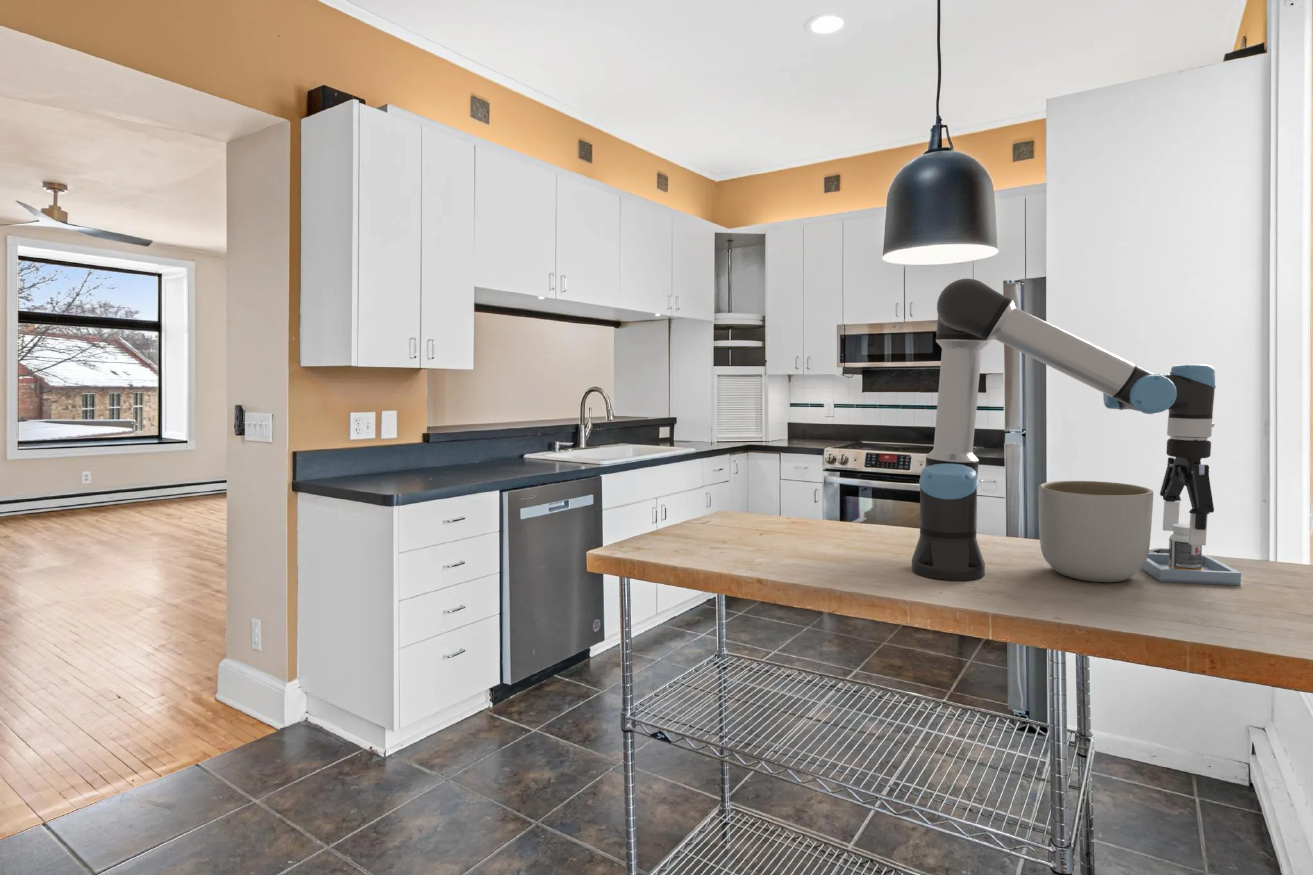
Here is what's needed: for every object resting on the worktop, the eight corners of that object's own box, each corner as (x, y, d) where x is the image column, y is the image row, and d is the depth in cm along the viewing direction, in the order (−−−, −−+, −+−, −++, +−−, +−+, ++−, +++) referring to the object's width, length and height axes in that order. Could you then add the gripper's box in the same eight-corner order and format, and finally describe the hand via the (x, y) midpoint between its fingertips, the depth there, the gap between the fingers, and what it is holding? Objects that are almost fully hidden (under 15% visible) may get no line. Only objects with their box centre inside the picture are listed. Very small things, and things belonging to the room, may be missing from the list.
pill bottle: (1208, 573, 153) (1209, 527, 152) (1187, 576, 151) (1188, 529, 150) (1181, 566, 158) (1183, 522, 157) (1161, 569, 157) (1162, 524, 156)
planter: (1133, 565, 162) (1136, 481, 160) (1164, 592, 142) (1168, 497, 140) (1030, 560, 168) (1031, 479, 167) (1046, 585, 149) (1048, 494, 147)
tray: (1160, 581, 149) (1160, 569, 149) (1134, 563, 164) (1134, 552, 163) (1240, 585, 145) (1241, 573, 145) (1206, 566, 160) (1207, 555, 160)
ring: (1158, 563, 163) (1158, 557, 163) (1142, 552, 173) (1142, 547, 173) (1210, 565, 160) (1210, 559, 160) (1190, 554, 170) (1191, 549, 170)
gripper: (1239, 444, 139) (1232, 552, 141) (1184, 433, 163) (1179, 526, 165) (1193, 443, 141) (1187, 550, 143) (1146, 433, 165) (1141, 524, 167)
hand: (1183, 537), depth 154 cm, fingers open, 13 cm apart
